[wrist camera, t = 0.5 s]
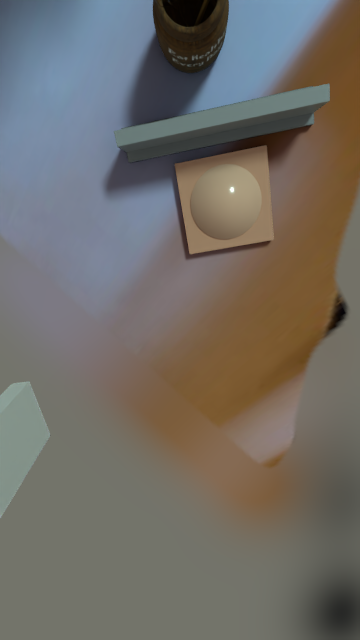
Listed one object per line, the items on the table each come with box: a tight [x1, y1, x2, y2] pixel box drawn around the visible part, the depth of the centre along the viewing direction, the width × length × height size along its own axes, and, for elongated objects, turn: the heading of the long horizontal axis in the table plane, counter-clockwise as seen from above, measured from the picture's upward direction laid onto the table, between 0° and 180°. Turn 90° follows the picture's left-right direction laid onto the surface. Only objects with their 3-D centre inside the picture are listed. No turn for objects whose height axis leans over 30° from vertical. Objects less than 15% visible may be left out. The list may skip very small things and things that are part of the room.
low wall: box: [114, 84, 330, 163], centre depth 29 cm, size 3×18×4 cm, turn 100°
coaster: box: [175, 145, 274, 254], centre depth 33 cm, size 9×9×1 cm
